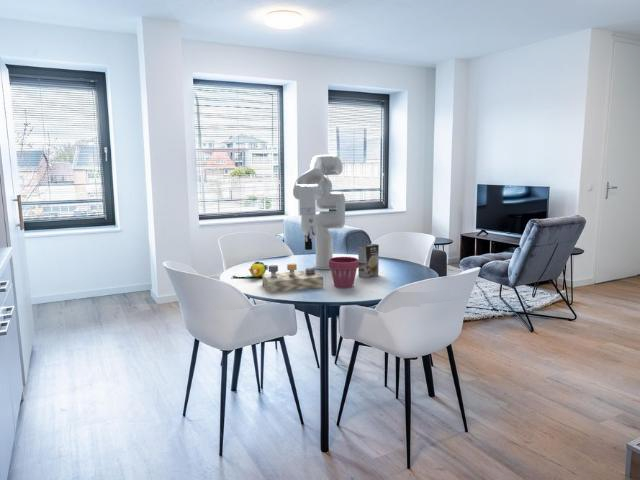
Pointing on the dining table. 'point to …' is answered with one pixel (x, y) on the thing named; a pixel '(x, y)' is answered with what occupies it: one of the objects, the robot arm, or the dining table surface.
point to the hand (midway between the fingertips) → (308, 249)
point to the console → (292, 281)
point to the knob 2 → (310, 271)
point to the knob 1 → (273, 270)
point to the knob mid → (291, 268)
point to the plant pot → (343, 271)
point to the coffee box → (368, 260)
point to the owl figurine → (257, 269)
